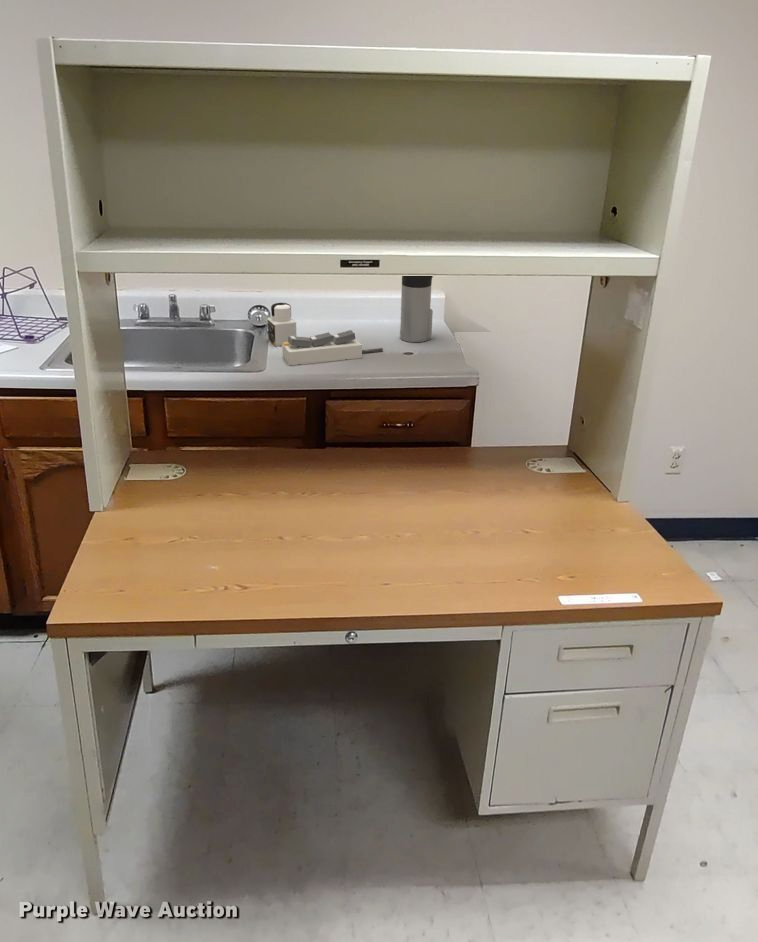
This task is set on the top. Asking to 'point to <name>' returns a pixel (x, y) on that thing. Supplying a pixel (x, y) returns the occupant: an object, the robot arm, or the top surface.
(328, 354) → the power strip
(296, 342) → the rocker
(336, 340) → the rocker
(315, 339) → the rocker middle
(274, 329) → the medicine bottle
